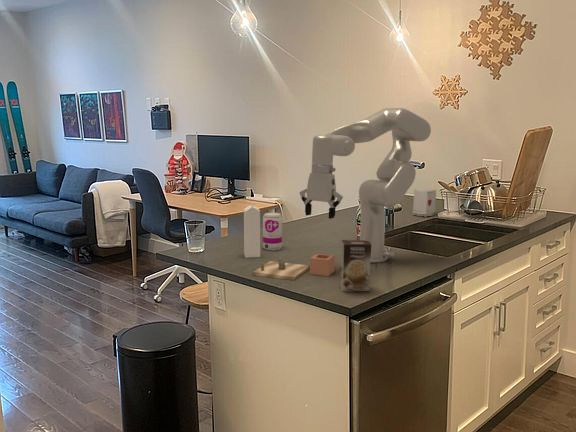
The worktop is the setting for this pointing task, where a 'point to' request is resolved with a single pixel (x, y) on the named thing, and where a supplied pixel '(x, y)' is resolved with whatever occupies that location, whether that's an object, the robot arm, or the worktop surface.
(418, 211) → the supplement box
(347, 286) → the coffee box
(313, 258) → the square nut with handle
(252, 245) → the milk
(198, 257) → the worktop surface
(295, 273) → the post base
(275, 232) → the supplement can
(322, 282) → the worktop surface
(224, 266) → the worktop surface
